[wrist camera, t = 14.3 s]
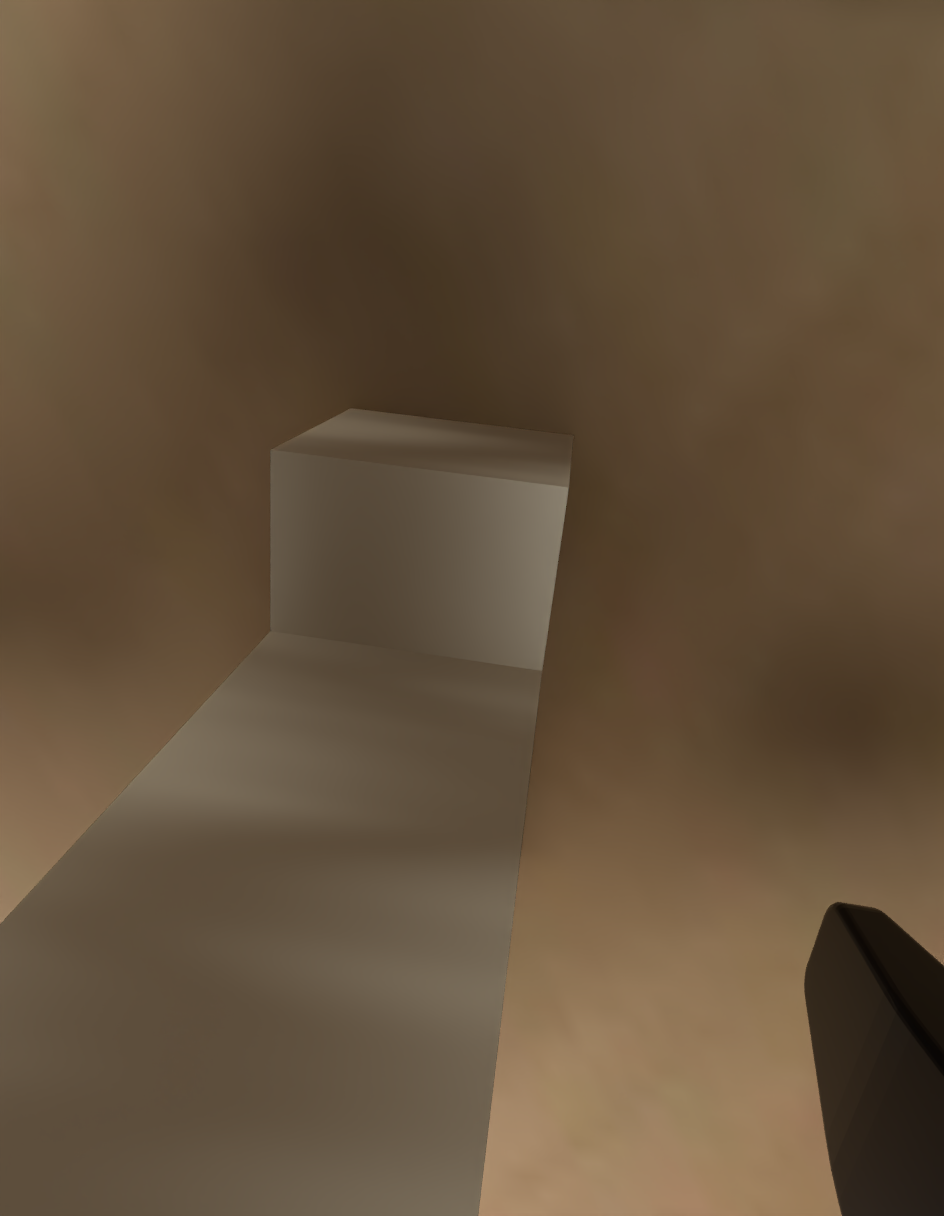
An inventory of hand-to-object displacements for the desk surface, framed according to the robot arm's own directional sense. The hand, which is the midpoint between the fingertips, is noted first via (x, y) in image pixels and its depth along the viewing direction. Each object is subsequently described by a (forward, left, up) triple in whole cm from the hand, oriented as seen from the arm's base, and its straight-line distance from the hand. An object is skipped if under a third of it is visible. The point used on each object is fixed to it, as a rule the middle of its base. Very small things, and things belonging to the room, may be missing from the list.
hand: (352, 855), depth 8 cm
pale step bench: (0, 0, -5) cm, 5 cm away
